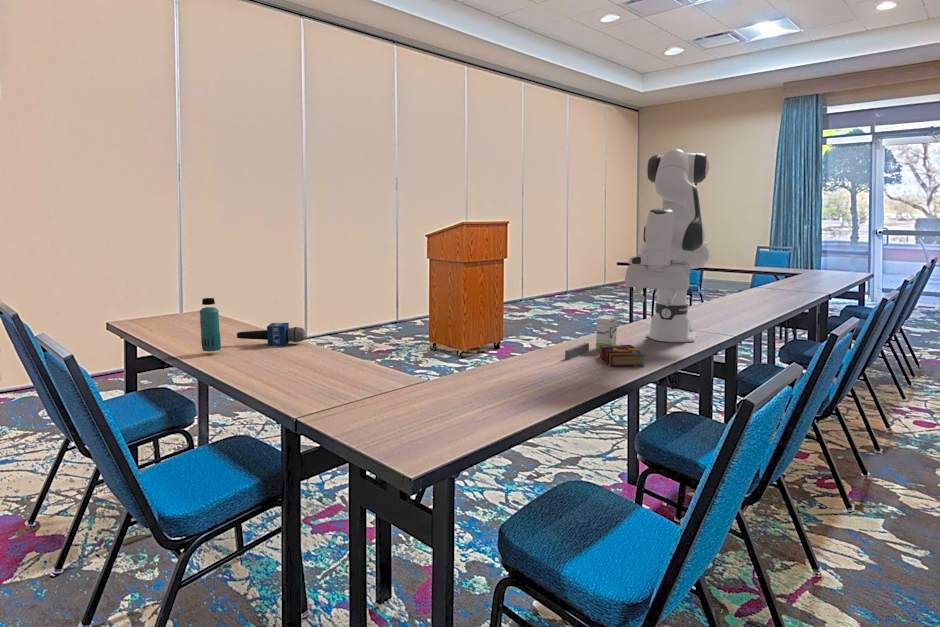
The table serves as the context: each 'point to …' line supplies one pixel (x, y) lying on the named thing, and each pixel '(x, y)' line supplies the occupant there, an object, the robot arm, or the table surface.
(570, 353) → the charcoal bar
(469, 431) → the table surface
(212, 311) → the beverage bottle
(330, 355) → the table surface
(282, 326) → the microphone
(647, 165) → the robot arm
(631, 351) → the decorative book
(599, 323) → the ink box
